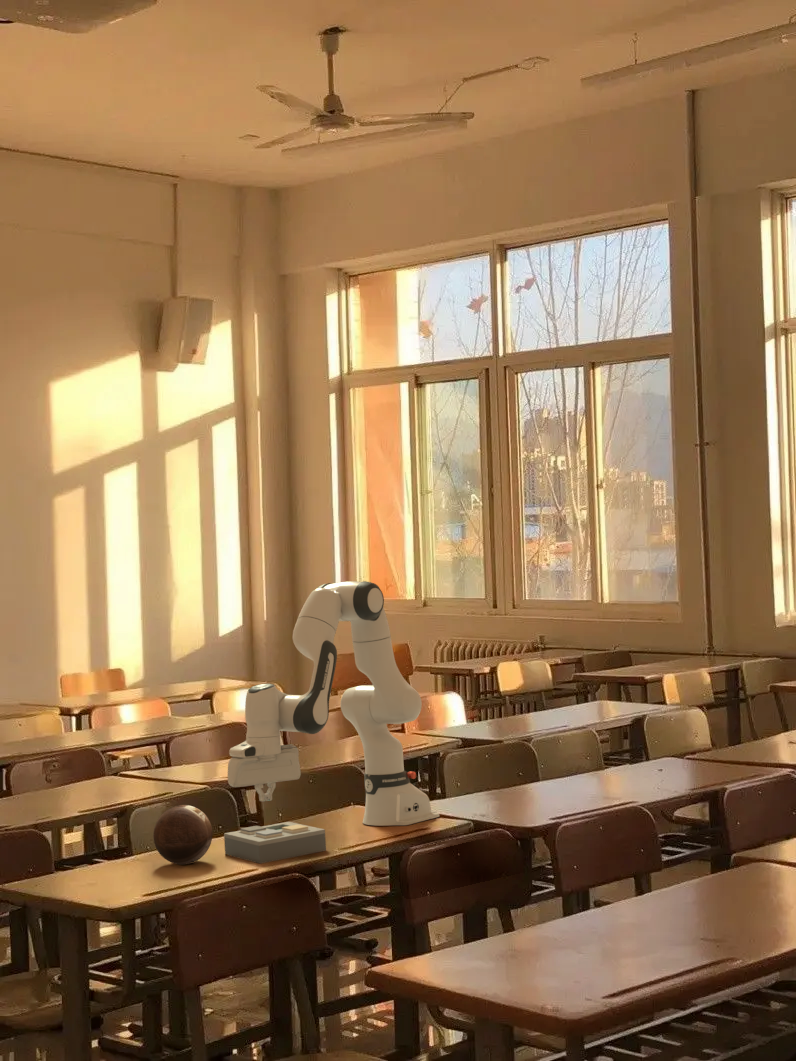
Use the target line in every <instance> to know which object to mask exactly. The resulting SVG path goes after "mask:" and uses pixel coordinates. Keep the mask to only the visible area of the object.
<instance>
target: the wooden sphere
mask: <svg viewBox="0 0 796 1061" xmlns="http://www.w3.org/2000/svg"><path fill="white" fill-rule="evenodd" d="M152 837H153V844H154V846H155V848H156V851H157V852H158V854H159V855H160V856H161V857H162V858H163V859H165V860H166V861H167V862H169V863H171V864H174V865H189V864H193V863H195V862H197V861H199V860H200V859H201V858H202V857H204V855H206V853H208V851H209V849H210V847H211V844H212V840H213V828H212V824H211V821H210V820H209V817H208V816H207V815H206V814H205V813H204V812H203V811H202V810H200V809H199V808H197V807H195V806H192V805H189V804H180V805H179V804H178V805H175V806H172V807H170V808H169V809H166V811H164V812H163V813H162V814H161V815H160V816H159V817H158V819H157V821H156V823H155V826H154V828H153V836H152Z"/></svg>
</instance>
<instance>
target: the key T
mask: <svg viewBox="0 0 796 1061" xmlns="http://www.w3.org/2000/svg"><path fill="white" fill-rule="evenodd" d="M297 824H298V825H292V826H287V827H282V832H285V833H289V834H294V833H300V832H305V831H309V830H308V826H309V825H307V826H303V825H304V824H302V825H299V824H300V823H297Z"/></svg>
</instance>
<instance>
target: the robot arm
mask: <svg viewBox="0 0 796 1061" xmlns="http://www.w3.org/2000/svg"><path fill="white" fill-rule="evenodd" d="M384 598H385V597H384V594H383V591H382V589H381V588H380V586H379V585H378V584H376V583H375V582H371V581H367V580H365V581H364V580H363V581H355V580H351V581H350V580H346V581H342V582H334V583H331V582H328V583H324V584H321V585H320V586H318V587H316V589H314V590H312V591H311V592H310V593H309V595H308V596H307V598H306V600H305V602H304V604H303V606H302V608H301V610H300V612H299V614H298V617H297V619H296V622H295V625H294V628H293V630H292V642H293V644H294V646H295V648H296V650H297V651H298V652H299V653H300V654H302V656H304V657H305V658H307V659H309V660H311V661H313V670H312V674H311V680H310V684H309V689H308V691H307V692H305V693H304V694H301V695H300V694H287V693H285V692H282V690H281V691H280V690H279V689H278V688H277V687H276V685H275V684H274V683H261V684H257V685H253V686H251V687H249V689H248V690H247V692H246V695H245V696H246V697H245V704H244V706H245V708H244V711H245V712H244V714H245V715H244V716H245V717H244V719H245V723H246V726H247V728H246V729H247V730H246V734H245V740H244V741H243V742H241V743H239V744H236V745H235V746H232V747H230V749H229V751H228V754H229V757H231V758H230V759H229V761H228V764H227V783H228V785H229V786H230V787H233V788H240V787H250V786H254V789H255V791H256V793H257V794H258V799H259V800H258V801H259V802H268V801H272V800H273V794H274V793H273V792H274V790H275V789H276V788H277V787H276V786H277V784H276V783H279V782H286V781H296V780H299V779H300V777H301V775H302V773H301V772H302V771H301V764H300V763H301V762H300V760H299V756H300V755H299V748H298V747H297V745H294V744H291V743H290V744H283V745H282V744H281V732H293V733H295V732H296V733H303V734H308V735H315V734H318V733H319V732H321V731H322V730H323V728H324V727H325V726H326V724H327V722H328V719H329V712H330V699H331V698H330V697H331V693H332V688H333V683H334V677H335V670H336V667H337V662H338V661H337V659H338V650H337V647H336V645H335V643H334V641H335V635H336V631H337V629H338V626H339V622H349V623H350V629H351V631H350V632H351V641H352V648H353V655H354V663H355V667H356V669H357V670H358V671H359V672H361V673H362V674H364V675H365V676H366V677H367V678H368V679H369V681H370V682H371V684H361V685H357V686H354V687H349V688H347V689H345V691H344V692H343V694H342V696H341V698H340V709H341V713H342V715H343V717H344V718H345V719H346V720H347V721H348V722H350V723H351V725H352V726H353V727H354V728H355V731H356V732H357V734H358V736H359V738H360V741H361V744H362V749H363V757H364V768H365V770H364V771H365V772H364V773H363V776H364V777H363V778H364V780H363V781H364V790H365V806H364V814H363V819H362V824H364V825H368V826H376V827H377V826H379V827H381V826H383V827H384V826H409V825H412V824H416V823H420V822H421V823H422V822H424V821H427V820H432V819H435V818H439V817H440V813H439V812H438V811H435V810H432V805H431V801H430V798H429V796H428V795H427V794H426V793H425V792H424V791H422V790H420V789H419V788H418V787H416V786H415V785H414V784H412V783H411V780H410V779H413V780H414V779H416V777H417V774H416V771H407V770H405V767H404V766H405V765H404V748H403V745H402V742H401V741H400V739H398V738H397V737H395V736H394V735H392V733H391V732H390V730H389V728H388V725H389V724H390V725H403V724H405V723H407V724H408V723H410V722H413V721H416V720H417V718H419V715H420V714H421V711H422V707H423V706H422V705H423V702H422V698H421V695H420V693H419V692H418V690H416V689H415V688H414V687H413V686H411V684H409V683H408V682H407V680H406V679H405V677H404V676H403V675H402V673H401V672H400V668H398V665H397V663H396V660H395V659H396V658H395V654H394V650H393V649H394V648H393V643H392V636H391V629H390V625H389V621H388V617H387V614H386V611H385V607H384V604H385V603H384V602H385V599H384ZM280 731H281V732H280ZM264 784H266V786H267V787H268V788H267V791H266V793H264V790H263V789H264Z"/></svg>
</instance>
